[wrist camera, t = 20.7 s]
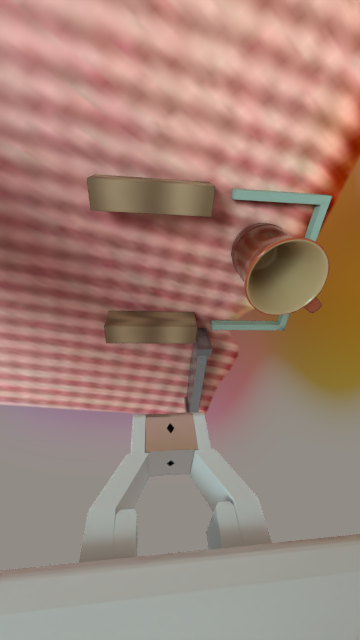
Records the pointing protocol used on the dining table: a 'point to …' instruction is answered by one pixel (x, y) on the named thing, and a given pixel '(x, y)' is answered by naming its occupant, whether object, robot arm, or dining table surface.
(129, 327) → the wooden blocks
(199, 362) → the gate
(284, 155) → the dining table surface
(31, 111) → the dining table surface
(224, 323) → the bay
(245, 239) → the mug
